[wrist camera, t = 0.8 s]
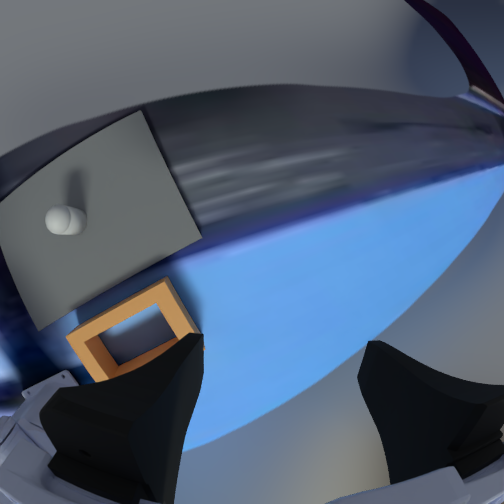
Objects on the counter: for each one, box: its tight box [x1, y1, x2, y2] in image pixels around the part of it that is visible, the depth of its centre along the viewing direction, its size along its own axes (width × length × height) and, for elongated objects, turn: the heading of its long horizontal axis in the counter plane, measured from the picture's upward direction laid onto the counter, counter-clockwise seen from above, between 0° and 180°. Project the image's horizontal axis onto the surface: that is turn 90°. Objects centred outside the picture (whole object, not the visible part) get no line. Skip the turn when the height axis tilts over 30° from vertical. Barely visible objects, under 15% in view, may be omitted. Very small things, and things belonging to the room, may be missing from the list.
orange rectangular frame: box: [66, 276, 205, 382], centre depth 23 cm, size 11×7×4 cm, turn 118°
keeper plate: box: [0, 110, 202, 331], centre depth 20 cm, size 20×14×6 cm
